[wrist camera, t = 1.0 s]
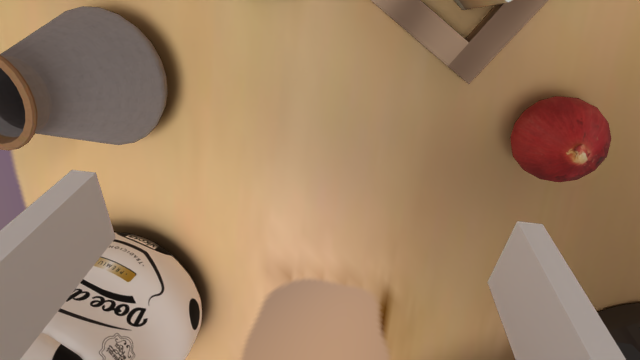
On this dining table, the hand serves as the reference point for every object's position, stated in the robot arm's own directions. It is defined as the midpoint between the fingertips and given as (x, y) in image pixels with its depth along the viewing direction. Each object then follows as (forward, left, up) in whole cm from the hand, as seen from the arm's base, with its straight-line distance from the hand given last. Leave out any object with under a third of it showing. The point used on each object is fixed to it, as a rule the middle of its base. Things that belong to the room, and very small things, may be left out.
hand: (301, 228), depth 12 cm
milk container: (+6, +33, -22) cm, 39 cm away
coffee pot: (+20, +17, -21) cm, 34 cm away
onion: (-12, -7, -21) cm, 26 cm away
